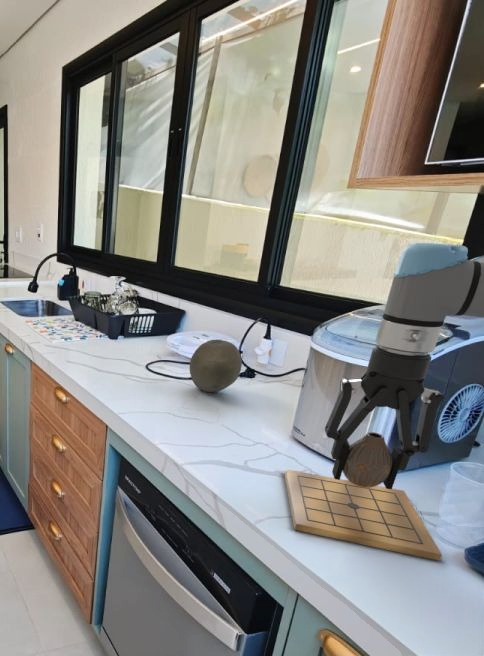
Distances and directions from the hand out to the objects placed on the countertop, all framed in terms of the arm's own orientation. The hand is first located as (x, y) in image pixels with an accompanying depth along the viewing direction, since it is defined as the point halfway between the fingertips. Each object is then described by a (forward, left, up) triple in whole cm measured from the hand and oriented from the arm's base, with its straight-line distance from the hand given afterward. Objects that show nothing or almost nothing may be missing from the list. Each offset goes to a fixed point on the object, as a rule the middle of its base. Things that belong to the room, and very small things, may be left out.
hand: (361, 480), depth 85 cm
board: (0, 0, -6) cm, 6 cm away
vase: (0, 0, 0) cm, 0 cm away
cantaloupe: (+26, -55, -7) cm, 61 cm away
